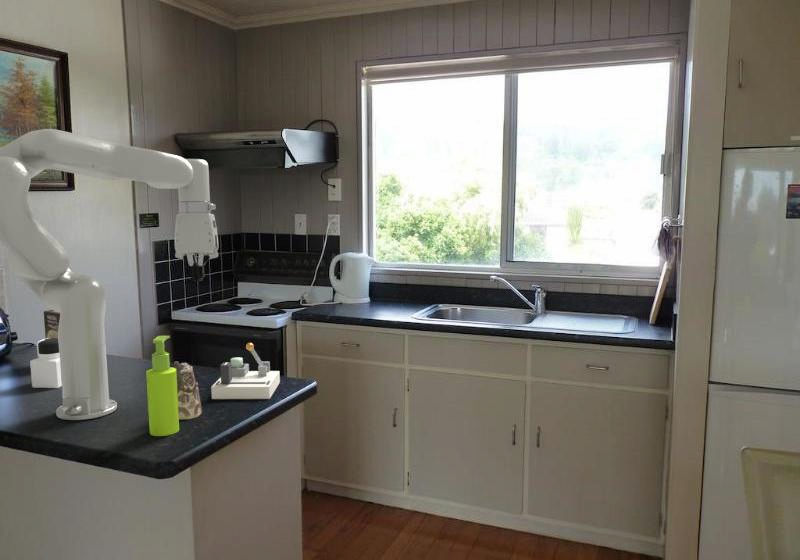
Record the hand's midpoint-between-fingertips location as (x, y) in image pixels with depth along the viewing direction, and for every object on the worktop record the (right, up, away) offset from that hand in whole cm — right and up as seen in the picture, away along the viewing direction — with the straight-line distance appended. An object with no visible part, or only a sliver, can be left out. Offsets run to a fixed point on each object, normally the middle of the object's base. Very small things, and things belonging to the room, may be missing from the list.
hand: (197, 280), depth 172 cm
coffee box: (-45, -25, +23) cm, 56 cm away
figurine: (+3, -30, -20) cm, 36 cm away
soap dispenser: (+2, -32, -30) cm, 44 cm away
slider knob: (+9, -25, -7) cm, 27 cm away
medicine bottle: (-39, -27, +4) cm, 48 cm away
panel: (+13, -28, -2) cm, 31 cm away
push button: (+10, -23, +2) cm, 25 cm away
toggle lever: (+17, -23, +2) cm, 28 cm away
